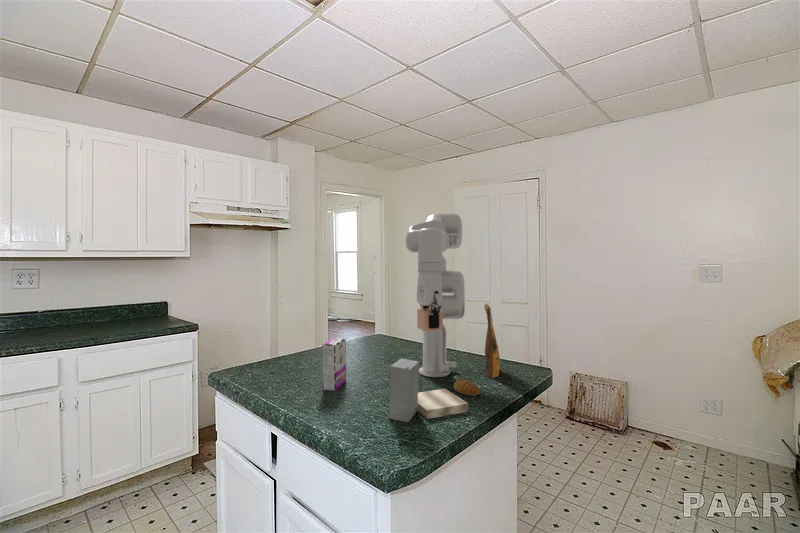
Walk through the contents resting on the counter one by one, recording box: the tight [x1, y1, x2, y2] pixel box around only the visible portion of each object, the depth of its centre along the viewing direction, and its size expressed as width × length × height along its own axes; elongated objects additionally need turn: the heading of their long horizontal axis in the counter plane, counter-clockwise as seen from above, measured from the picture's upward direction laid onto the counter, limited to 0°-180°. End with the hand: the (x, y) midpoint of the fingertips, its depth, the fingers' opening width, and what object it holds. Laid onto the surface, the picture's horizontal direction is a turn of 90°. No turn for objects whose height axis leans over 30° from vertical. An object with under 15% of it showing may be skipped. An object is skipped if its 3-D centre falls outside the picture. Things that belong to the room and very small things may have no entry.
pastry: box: [453, 378, 481, 397], centre depth 130 cm, size 9×7×4 cm
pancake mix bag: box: [484, 302, 501, 379], centre depth 153 cm, size 7×19×28 cm, turn 164°
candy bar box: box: [322, 337, 347, 392], centre depth 135 cm, size 11×5×16 cm, turn 168°
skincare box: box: [388, 358, 420, 423], centre depth 110 cm, size 8×7×16 cm
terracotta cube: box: [416, 308, 444, 332], centre depth 116 cm, size 6×6×6 cm
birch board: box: [417, 388, 469, 420], centre depth 117 cm, size 14×14×2 cm
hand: (429, 325), depth 116 cm, fingers closed on terracotta cube, 6 cm apart
